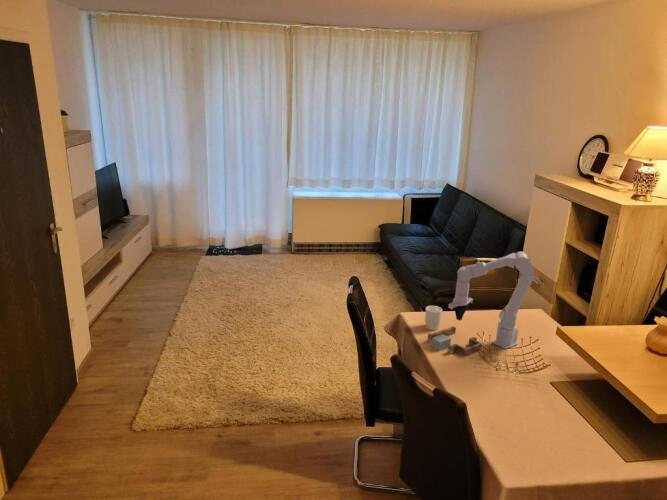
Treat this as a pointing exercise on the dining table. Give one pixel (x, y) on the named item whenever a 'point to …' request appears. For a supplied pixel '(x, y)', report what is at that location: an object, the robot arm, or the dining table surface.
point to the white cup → (433, 317)
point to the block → (440, 342)
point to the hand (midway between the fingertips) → (458, 319)
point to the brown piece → (455, 347)
